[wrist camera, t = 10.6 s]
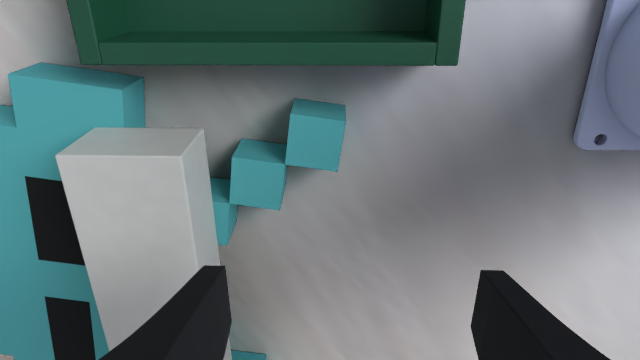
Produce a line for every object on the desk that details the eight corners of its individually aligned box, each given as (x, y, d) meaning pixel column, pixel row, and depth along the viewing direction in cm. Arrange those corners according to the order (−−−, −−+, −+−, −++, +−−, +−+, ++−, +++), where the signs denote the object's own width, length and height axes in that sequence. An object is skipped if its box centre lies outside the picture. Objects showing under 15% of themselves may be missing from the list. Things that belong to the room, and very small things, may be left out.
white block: (204, 127, 19) (181, 156, 16) (235, 388, 25) (223, 439, 22) (94, 127, 19) (53, 155, 16) (154, 386, 25) (132, 437, 23)
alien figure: (344, 105, 20) (-115, 40, 20) (345, 121, 18) (-167, 49, 18) (295, 410, 29) (-25, 370, 28) (292, 443, 27) (-53, 401, 26)
